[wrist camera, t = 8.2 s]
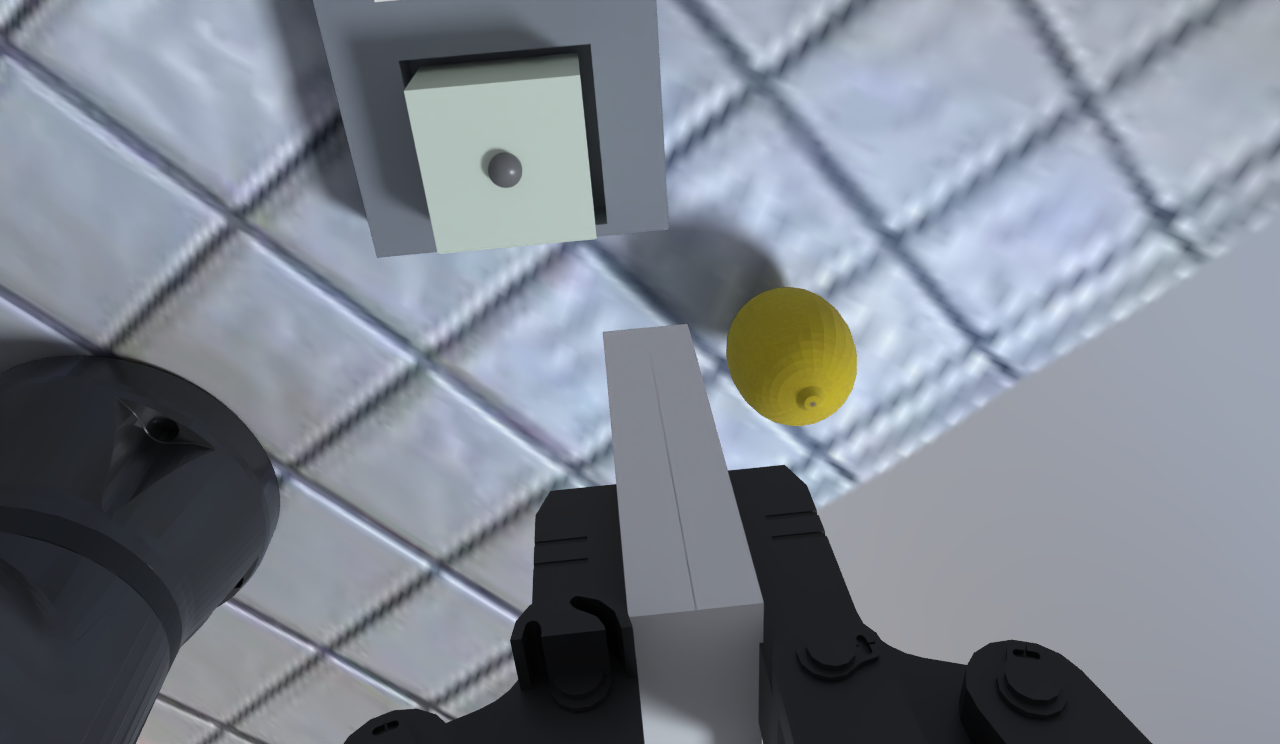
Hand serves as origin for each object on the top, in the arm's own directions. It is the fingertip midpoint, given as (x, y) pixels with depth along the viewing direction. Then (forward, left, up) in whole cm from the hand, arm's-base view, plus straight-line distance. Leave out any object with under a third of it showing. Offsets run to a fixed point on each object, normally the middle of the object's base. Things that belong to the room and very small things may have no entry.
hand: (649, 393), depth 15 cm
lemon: (+7, -11, -23) cm, 27 cm away
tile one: (-4, -1, -21) cm, 21 cm away
